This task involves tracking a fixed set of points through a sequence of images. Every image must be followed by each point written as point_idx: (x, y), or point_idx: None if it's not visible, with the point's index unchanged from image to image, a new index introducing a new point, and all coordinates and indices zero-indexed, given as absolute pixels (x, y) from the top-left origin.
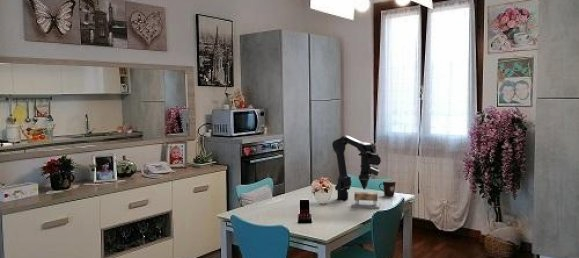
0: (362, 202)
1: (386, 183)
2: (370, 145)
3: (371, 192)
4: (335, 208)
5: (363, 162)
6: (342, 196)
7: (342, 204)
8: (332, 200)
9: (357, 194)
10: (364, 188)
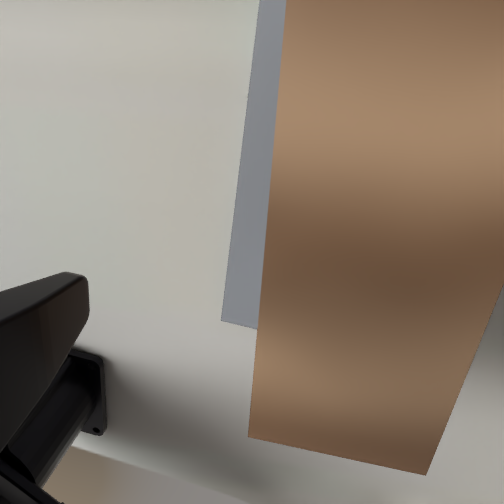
0: (254, 213)
1: None
2: None
3: (292, 102)
4: (481, 497)
5: None
6: (79, 418)
7: None
8: (140, 462)
9: (441, 421)
10: None
